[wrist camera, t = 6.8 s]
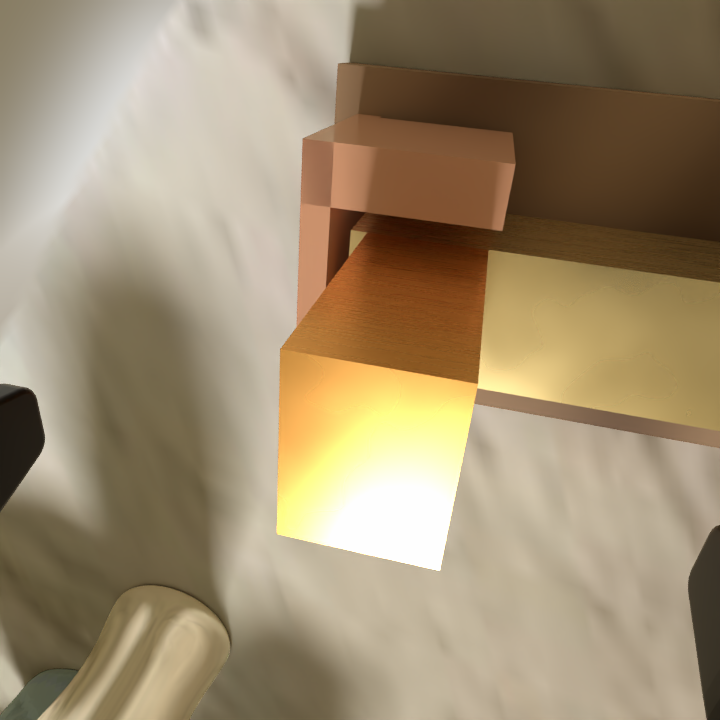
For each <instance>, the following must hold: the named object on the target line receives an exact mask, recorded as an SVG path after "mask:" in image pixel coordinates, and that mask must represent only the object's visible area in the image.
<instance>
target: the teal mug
mask: <svg viewBox="0 0 720 720" xmlns="http://www.w3.org/2000/svg"><path fill="white" fill-rule="evenodd" d="M77 673H78V671H76V670H69V669H52V670H47V671H44V672H41V673H40V674H38V675H37V676H35V677H34V678H33V679H32V680H30V681H29V682H28V683H27V685H26V686H25V687H24V688H23V689H22V690H21V692H20V693H19V694H18V695H17V697H15V699H14V700H13V701H12V702H11V703H10V704H9V705H8V707H7V708H6V709H5V710H4V711H3V712H2V713H1V715H0V720H37V719H38V718H39V717H40V716H41V715H42V714H43V712H44V711H45V710H46V709H47V708H48V707H49V706H50V705H51V704H52V703H53V701H54V700H55V699H56V698H57V697H58V696H59V695H60V694H61V692H62V691H63V690H64V689H65V688H66V687H67V686H68V684H69V683H70V682H71V681H72V679H73V678H74V677H75V675H76V674H77Z"/></svg>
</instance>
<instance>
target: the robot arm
mask: <svg viewBox="0 0 720 720" xmlns="http://www.w3.org/2000/svg"><path fill="white" fill-rule="evenodd" d="M44 443H45V434H44V429H43V425H42V420H41V415H40V411H39V406H38V402H37V398H36V395H35V394H34V393H33V391H32V390H30V389H28V388H25V387H20V386H15V385H10V384H0V512H1V510H2V509H3V508H4V506H5V505H6V503H7V502H8V500H9V499H10V497H11V496H12V494H13V493H14V492H15V490H16V489H17V487H18V486H19V484H20V483H21V481H22V480H23V478H24V477H25V476H26V474H27V473H28V471H29V470H30V468H31V467H32V465H33V464H34V463H35V461H36V460H37V458H38V457H39V455H40V454H41V452H42V449H43V447H44ZM688 593H689V601H690V608H691V615H692V622H693V629H694V636H695V643H696V651H697V658H698V665H699V672H700V679H701V686H702V693H703V700H704V706H705V712H706V718H707V720H720V525H718V526H716V527H715V528H713V529H712V531H711V532H710V534H709V536H708V538H707V540H706V542H705V544H704V546H703V548H702V550H701V552H700V554H699V556H698V558H697V560H696V562H695V564H694V566H693V568H692V570H691V572H690V576H689V581H688Z"/></svg>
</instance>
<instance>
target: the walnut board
mask: <svg viewBox="0 0 720 720" xmlns="http://www.w3.org/2000/svg"><path fill="white" fill-rule="evenodd" d="M356 114H364V115H373V116H381V118H387V119H396V120H405V121H414V122H423V123H431V124H440V125H449V126H458V127H467V128H476V129H485V130H493V131H502V132H511V133H513V142H514V152H515V162H516V165H515V170H514V175H513V180H512V185H511V190H510V195H509V200H508V205H507V210H506V214H512V215H520V216H527V217H535V218H542V219H550V220H557V221H565V222H572V223H580V224H587V225H595V226H602V227H610V228H617V229H625V230H632V231H640V232H647V233H655V234H663V235H670V236H678V237H685V238H693V239H700V240H708V241H715V242H720V99H710V98H700V97H690V96H680V95H669V94H659V93H649V92H639V91H629V90H619V89H609V88H599V87H589V86H579V85H569V84H559V83H549V82H539V81H529V80H519V79H509V78H499V77H489V76H479V75H469V74H459V73H449V72H438V71H428V70H418V69H408V68H398V67H388V66H378V65H368V64H358V63H339V64H338V73H337V91H336V109H335V124H336V123H339V122H341V121H343V120H345V119H348V118H350V117H352V116H354V115H356ZM474 404H479V405H485V406H490V407H496V408H501V409H507V410H513V411H518V412H524V413H529V414H535V415H540V416H546V417H551V418H557V419H562V420H568V421H573V422H579V423H584V424H590V425H595V426H601V427H606V428H612V429H617V430H623V431H628V432H634V433H639V434H645V435H650V436H656V437H661V438H667V439H672V440H678V441H683V442H689V443H695V444H700V445H706V446H711V447H717V448H720V431H716V430H710V429H705V428H699V427H693V426H688V425H682V424H677V423H671V422H665V421H660V420H654V419H648V418H643V417H637V416H631V415H626V414H620V413H614V412H609V411H603V410H598V409H592V408H586V407H581V406H575V405H569V404H564V403H558V402H552V401H547V400H541V399H536V398H530V397H524V396H519V395H513V394H507V393H502V392H496V391H490V390H485V389H479V388H477V392H476V396H475V401H474Z"/></svg>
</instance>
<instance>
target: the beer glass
mask: <svg viewBox="0 0 720 720" xmlns="http://www.w3.org/2000/svg"><path fill="white" fill-rule="evenodd" d="M229 652H230V639H229V636H228V633H227V631H226V629H225V627H224V625H223V624H222V622H221V621H220V619H219V618H218V617H217V616H216V615H215V614H214V613H213V612H212V611H211V610H210V609H209V608H208V607H207V606H205V605H204V604H203V603H201V602H200V601H198V600H197V599H195V598H193V597H192V596H190V595H188V594H186V593H183V592H181V591H178V590H176V589H172V588H169V587H164V586H157V585H144V586H138V587H134V588H131V589H129V590H127V591H126V592H124V593H123V594H122V595H121V596H120V597H119V598H118V599H117V601H116V602H115V604H114V606H113V608H112V610H111V612H110V614H109V616H108V618H107V620H106V623H105V625H104V627H103V629H102V631H101V634H100V636H99V638H98V640H97V642H96V644H95V646H94V648H93V650H92V652H91V653H90V655H89V656H88V658H87V660H86V661H85V663H84V664H83V666H82V667H81V669H80V670H79V671H78V673H77V674H76V675H75V677H74V678H73V679H72V681H71V682H70V683H69V684H68V686H67V687H66V688H65V689H64V690H63V691H62V692H61V694H60V695H59V696H58V697H57V698H56V699H55V700H54V701H53V703H52V704H51V705H50V706H49V707H48V708H47V709H46V710H45V711H44V712H43V714H42V715H41V716H40V717H39V718H38V719H37V720H190V718H191V716H192V715H193V713H194V711H195V709H196V707H197V705H198V704H199V702H200V700H201V699H202V697H203V695H204V694H205V693H206V691H207V690H208V688H209V687H210V685H211V684H212V682H213V681H214V680H215V678H216V677H217V675H218V674H219V672H220V671H221V669H222V668H223V666H224V665H225V663H226V661H227V659H228V656H229Z"/></svg>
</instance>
